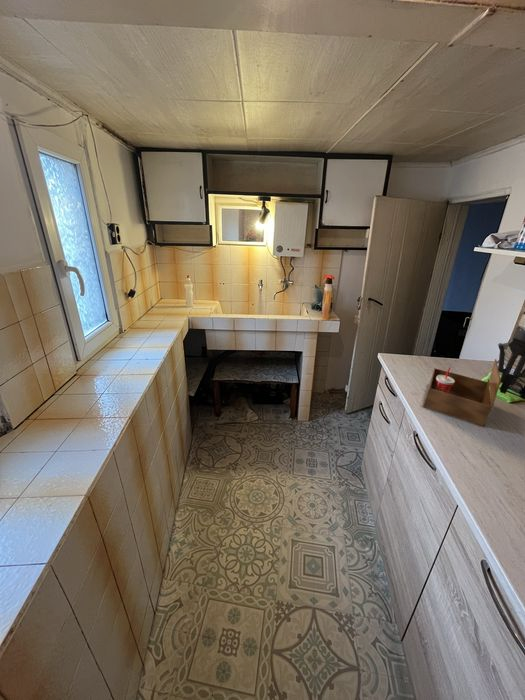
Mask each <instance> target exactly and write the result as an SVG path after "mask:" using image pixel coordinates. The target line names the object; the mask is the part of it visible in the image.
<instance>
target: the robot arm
mask: <svg viewBox="0 0 525 700" xmlns="http://www.w3.org/2000/svg"><path fill="white" fill-rule="evenodd" d="M517 325H518V326H516V328H515V329H514V333H513V335H512V336H511V338H510V339H509V340H508V341H507V342H504V343H501V342H500V343H498V344H497V345H498V349H499V354H498V363H497V365H498V370H499V373H501V376H500V380H501V381H500V386H499V392H500V393H502V394H504V395H505V394H507V392H508V390H509V387H510V386H515V384H516V382H517V380H518V379H519V378H523V379H525V310H524V311H523V313H522V315H521V318H520V319H519V322H518V323H517ZM508 348H509V350H510V352H511V354H510V357H509V359H508V361H507V363H506V365H505V358H506V350H508ZM518 357H520V358H519V360H518V362H517V364H516V365H515V362H516V360H517V359H518ZM514 365H515V368H514V370H513V373H511V371H512V369H513V367H514Z"/></svg>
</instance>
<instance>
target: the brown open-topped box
mask: <svg viewBox="0 0 525 700" xmlns="http://www.w3.org/2000/svg"><path fill="white" fill-rule="evenodd" d="M447 371H448V370H444V369H439V368H435V367H434V368H433V370H432V374H431V377H430V381H429V383H428V387H427V390H426V394H425V397H424V402H423V404H422V405H423V406H422V407H423V408H425V409H428V410H431V411H434V412H437V413H440V414H444V415H446V416H450V417H452V418H455V419H459V420H462V421H465V422H468V423H471V424H474V425H477V426H479V427H484V425H485V423H486V420H487V419H488V416H489V414H490V412H491V410H492V407H493V405H492V401H491V393H490V385H489V381H485V380H481V379H478V378H475V377H471V376H466V375H462V374H459V373H456V372H451V371H449V373H448V377H451V378H452V379H454V381H455V382H454V384H453V385H452V387H451V389H450V391H449V393H445V392H442V391H438V390H435V389H434V387H435V383H436V380H437V379H436V378H437V375H445V376H446V374H447Z"/></svg>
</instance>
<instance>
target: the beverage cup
mask: <svg viewBox="0 0 525 700" xmlns="http://www.w3.org/2000/svg"><path fill="white" fill-rule="evenodd" d="M450 370H451V367H450V366H449V367H448V369H447V370H446V371H447V374H446V376H445V375H437V378H436V379H437V380H436V383H435V387H434V389H435V390H438V391H442V392H445V393H449V391H450V389H451V387H452V385H453V384H454V382H455V381H454V379H452V378H451V377H448V373H449V372H450Z"/></svg>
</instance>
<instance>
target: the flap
mask: <svg viewBox="0 0 525 700" xmlns="http://www.w3.org/2000/svg"><path fill="white" fill-rule="evenodd" d="M493 361H494V362H493V365H492V369H491V372H490V376H489V379H488V382H489V388H490V396H491V404H492V406H494V405H495V401H496V398H497V395H498V390H499V389H500V386H501V382H500V381H501V380H500V379H501V374H500V372H499V370H498V360H497V359H496V358H495V359H494V360H493Z"/></svg>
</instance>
